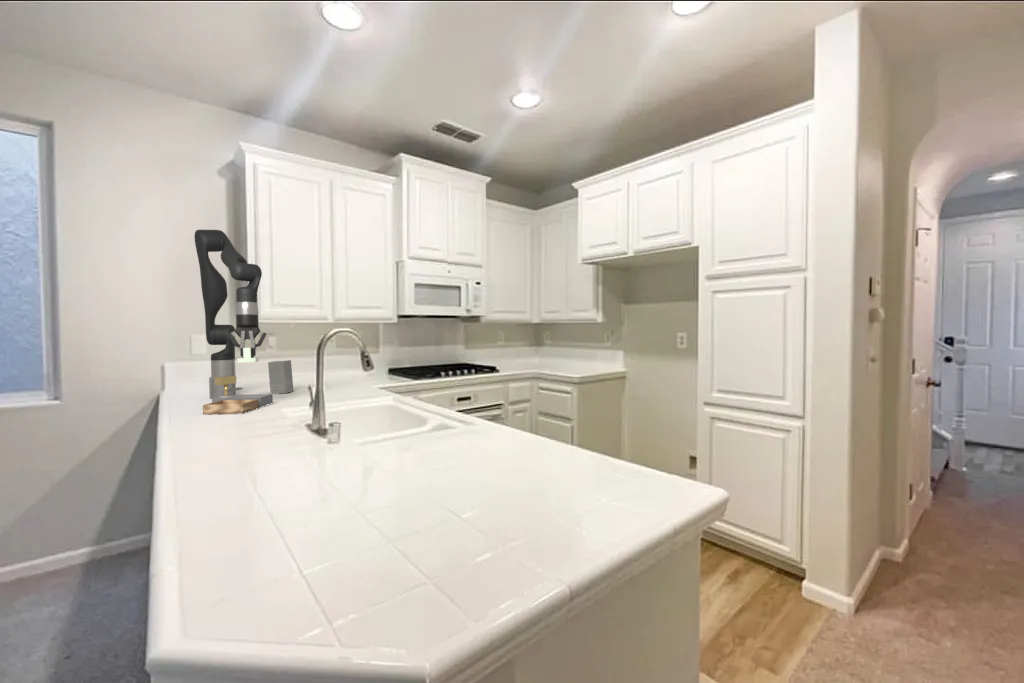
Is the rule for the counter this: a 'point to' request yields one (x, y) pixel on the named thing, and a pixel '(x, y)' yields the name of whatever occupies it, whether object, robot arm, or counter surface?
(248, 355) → the cover
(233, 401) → the tray
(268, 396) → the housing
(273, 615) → the counter surface
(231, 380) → the key
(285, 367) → the skincare box
